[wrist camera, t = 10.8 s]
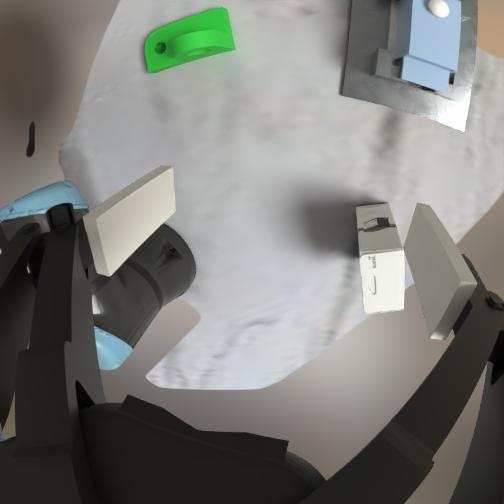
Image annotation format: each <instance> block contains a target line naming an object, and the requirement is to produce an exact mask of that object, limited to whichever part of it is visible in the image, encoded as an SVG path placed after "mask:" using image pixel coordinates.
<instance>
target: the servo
mask: <svg viewBox="0 0 504 504" xmlns="http://www.w3.org/2000/svg"><path fill="white" fill-rule="evenodd" d="M460 30H461V1H458V0H400V2H399V9H398V24H397V36H396V47H395V56H394V60H395V61H399V62H402V67H401V75H400V79H402V80H406V81H409V83H407V84H411V85H414V86H417V87H422V86H425V87H428V88H431V89H433V90H436V91H439V92H442V93H445V94H447V89H448V83H449V75H450V72H454V71H457V66H458V57H459V45H460Z"/></svg>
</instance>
